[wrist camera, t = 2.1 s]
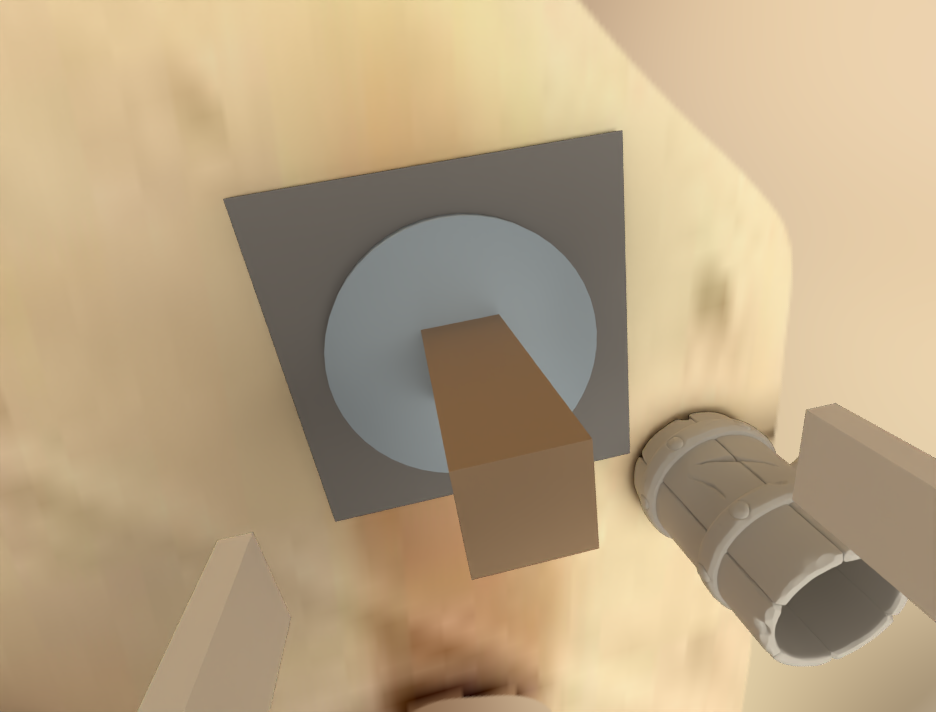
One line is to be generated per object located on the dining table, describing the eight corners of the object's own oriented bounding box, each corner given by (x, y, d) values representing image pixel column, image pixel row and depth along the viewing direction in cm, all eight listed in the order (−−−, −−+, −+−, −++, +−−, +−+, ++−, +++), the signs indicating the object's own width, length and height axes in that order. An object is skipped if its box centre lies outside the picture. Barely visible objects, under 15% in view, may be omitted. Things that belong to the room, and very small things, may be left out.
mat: (336, 513, 25) (335, 521, 24) (228, 197, 18) (222, 199, 18) (624, 447, 26) (629, 453, 25) (615, 131, 20) (622, 130, 19)
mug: (617, 434, 26) (788, 635, 15) (816, 362, 26) (1131, 506, 15) (637, 533, 29) (792, 762, 18) (816, 468, 29) (1076, 653, 18)
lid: (364, 481, 24) (346, 726, 13) (292, 242, 19) (176, 334, 9) (592, 430, 25) (740, 620, 14) (578, 190, 20) (783, 215, 10)
